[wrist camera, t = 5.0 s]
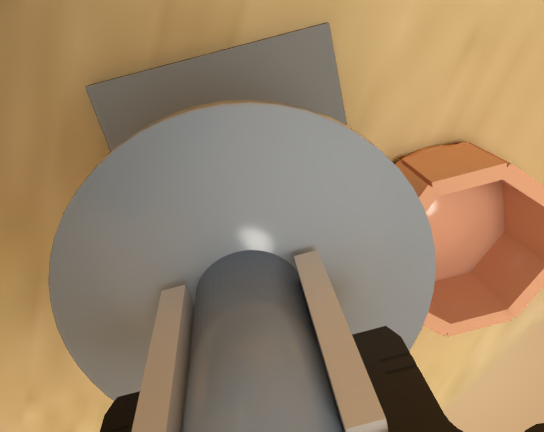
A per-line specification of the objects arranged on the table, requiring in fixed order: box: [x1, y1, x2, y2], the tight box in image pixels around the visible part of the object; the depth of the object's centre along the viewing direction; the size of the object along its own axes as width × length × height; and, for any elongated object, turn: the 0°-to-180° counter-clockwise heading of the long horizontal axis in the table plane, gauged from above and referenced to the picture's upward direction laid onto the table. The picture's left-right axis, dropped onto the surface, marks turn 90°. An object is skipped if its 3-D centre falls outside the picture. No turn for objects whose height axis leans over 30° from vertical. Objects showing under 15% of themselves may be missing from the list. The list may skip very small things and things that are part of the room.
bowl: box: [395, 142, 544, 336], centre depth 29 cm, size 10×10×5 cm
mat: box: [85, 23, 347, 151], centre depth 29 cm, size 14×14×1 cm
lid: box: [49, 99, 436, 432], centre depth 12 cm, size 13×13×9 cm
